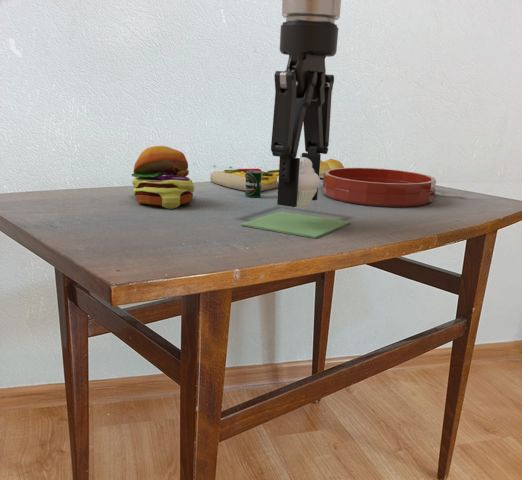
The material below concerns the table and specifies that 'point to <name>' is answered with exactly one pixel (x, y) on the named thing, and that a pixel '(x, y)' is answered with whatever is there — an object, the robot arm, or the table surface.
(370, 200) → the pan
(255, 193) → the beer can
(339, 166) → the bread roll
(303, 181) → the muffin
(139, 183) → the cheeseburger
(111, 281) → the table surface
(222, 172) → the pizza slice
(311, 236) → the cloth
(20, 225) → the table surface
